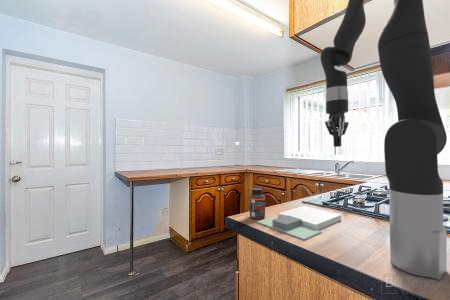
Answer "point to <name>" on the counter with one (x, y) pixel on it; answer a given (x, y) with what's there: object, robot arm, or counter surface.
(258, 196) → the supplement bottle
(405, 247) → the robot arm
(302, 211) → the riser
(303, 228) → the mat
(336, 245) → the counter surface
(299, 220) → the grey flat block
